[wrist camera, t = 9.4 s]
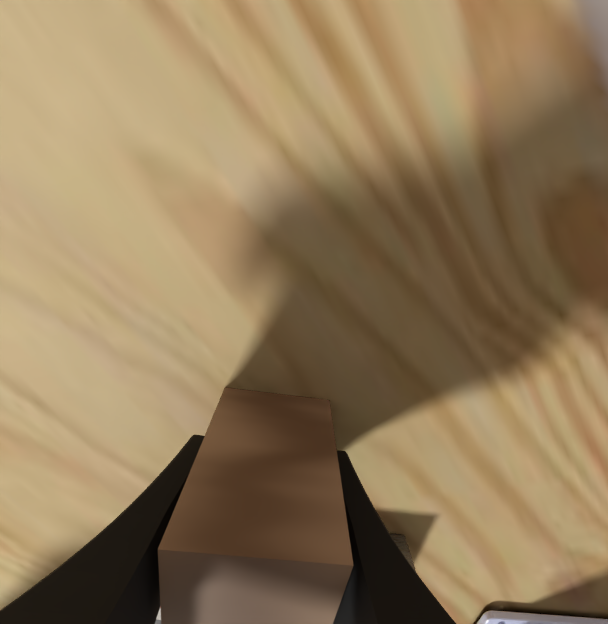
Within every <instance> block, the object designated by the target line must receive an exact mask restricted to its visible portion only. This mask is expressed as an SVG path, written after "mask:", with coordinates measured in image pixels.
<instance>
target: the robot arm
mask: <svg viewBox="0 0 608 624" xmlns="http://www.w3.org/2000/svg"><path fill="white" fill-rule="evenodd" d="M204 437H205V436H201V435H193V436H192V437H191V438H190V439H189V441H188V442H187V443H186V444H185V446H184V447H183V448H182V449H181V451H180V452H179V453H178V454H177V455H176V457H175V458H174V459H173V460H172V461H171V462H170V464H169V465H168V466H167V467H166V468H165V469H164V470H163V471H162V472H161V474H160V475H159V476H158V477H157V478H156V479H155V480H154V481H153V482H152V483H151V484H150V485H149V487H148V488H147V489H146V490H145V491H144V492H143V493H142V494H141V495H140V496H139V497H138V498H137V499H136V500H135V501H134V502H133V503H132V504H131V505H130V506H129V507H128V508H127V509H126V510H124V511H123V512H122V513H121V514H120V515H119V516H118V517H117V518H116V519H115V520H114V521H113V522H112V523H110V524H109V525H108V526H107V527H106V528H105V529H104V530H103V531H102V532H100V533H99V534H98V535H97V536H96V537H95V538H93V539H92V540H91V541H90V542H89V543H88V544H86V545H85V546H84V547H83V548H82V549H80V550H79V551H78V552H77V553H76V554H74V555H73V556H72V557H71V558H69V559H68V560H67V561H66V562H65V563H63V564H62V565H61V566H60V567H58V568H57V569H56V570H54V571H53V572H52V573H50V574H49V575H48V576H46V577H45V578H44V579H42V580H41V581H40V582H38V583H37V584H36V585H35V586H33V587H32V588H31V589H29V590H28V591H27V592H25V593H24V594H23V595H21V596H20V597H19V598H17V599H16V600H15V601H13V602H12V603H10V604H9V605H8V606H6V607H5V608H3V609H2V610H0V624H155V622H156V618H157V615H158V612H159V609H160V587H159V566H158V547H159V545H160V543H161V540H162V538H163V535H164V533H165V531H166V528H167V526H168V523H169V521H170V519H171V516H172V514H173V511H174V509H175V507H176V504H177V502H178V499H179V497H180V495H181V492H182V490H183V487H184V485H185V482H186V480H187V478H188V475H189V473H190V470H191V468H192V466H193V463H194V461H195V458H196V456H197V454H198V451H199V449H200V446H201V444H202V442H203V439H204ZM337 456H338V463H339V470H340V477H341V483H342V490H343V497H344V504H345V511H346V518H347V524H348V531H349V538H350V545H351V552H352V559H353V565H354V566H353V568H352V571H351V574H350V577H349V580H348V582H347V585H346V588H345V591H344V594H343V597H342V599H341V602H340V605H339V608H338V611H337V613H336V616H335V619H334V622H333V624H456V623H455V622H454V620H453V619H452V618H451V617H450V616H449V615H448V613H447V612H446V611H445V610H444V608H443V607H442V606H441V604H440V603H439V602H438V601H437V599H436V598H435V597H434V596H433V594H432V593H431V592H430V590H429V589H428V588H427V587H426V585H425V584H424V583H423V582H422V580H421V579H420V578H419V576H418V575H417V573H416V572H415V571H414V569H413V568H412V566H411V565H410V564H409V562H408V561H407V559H406V558H405V556H404V555H403V554H402V552H401V551H400V549H399V548H398V546H397V545H396V543H395V542H394V540H393V538H392V537H391V535H390V534H389V532H388V530H387V529H386V527H385V525H384V524H383V522H382V521H381V519H380V517H379V515H378V514H377V512H376V510H375V508H374V507H373V505H372V503H371V501H370V499H369V497H368V496H367V494H366V492H365V490H364V488H363V486H362V484H361V482H360V480H359V478H358V476H357V474H356V472H355V470H354V468H353V466H352V463H351V461H350V459H349V457H348V454H347V453H346V452H345V451H337ZM477 624H608V619H600V618H587V617H574V616H560V615H547V614H534V613H520V612H507V611H494V610H491V611H487V612H485V613H484V614H483V615H482V617H481V618H480V620H479V621H478V622H477Z"/></svg>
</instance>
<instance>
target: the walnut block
mask: <svg viewBox="0 0 608 624" xmlns="http://www.w3.org/2000/svg"><path fill="white" fill-rule="evenodd" d="M158 566H159V587H160V607H161V624H333V622H334V619H335V616H336V613H337V611H338V608H339V605H340V602H341V599H342V597H343V594H344V591H345V588H346V585H347V582H348V580H349V577H350V574H351V571H352V568H353V566H354V565H353V559H352V552H351V545H350V538H349V531H348V524H347V518H346V511H345V504H344V497H343V490H342V483H341V477H340V470H339V463H338V456H337V449H336V442H335V436H334V429H333V422H332V415H331V408H330V401H329V400H324V399H316V398H308V397H300V396H292V395H283V394H275V393H267V392H259V391H250V390H242V389H234V388H226V387H225V389H224V391H223V393H222V396H221V398H220V401H219V403H218V405H217V408H216V410H215V413H214V415H213V417H212V420H211V422H210V425H209V427H208V429H207V432H206V434H205V437H204V439H203V442H202V444H201V446H200V449H199V451H198V454H197V456H196V458H195V461H194V463H193V466H192V468H191V470H190V473H189V475H188V478H187V480H186V482H185V485H184V487H183V490H182V492H181V495H180V497H179V499H178V502H177V504H176V507H175V509H174V511H173V514H172V516H171V519H170V521H169V523H168V526H167V528H166V531H165V533H164V535H163V538H162V540H161V543H160V545H159V547H158Z"/></svg>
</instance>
